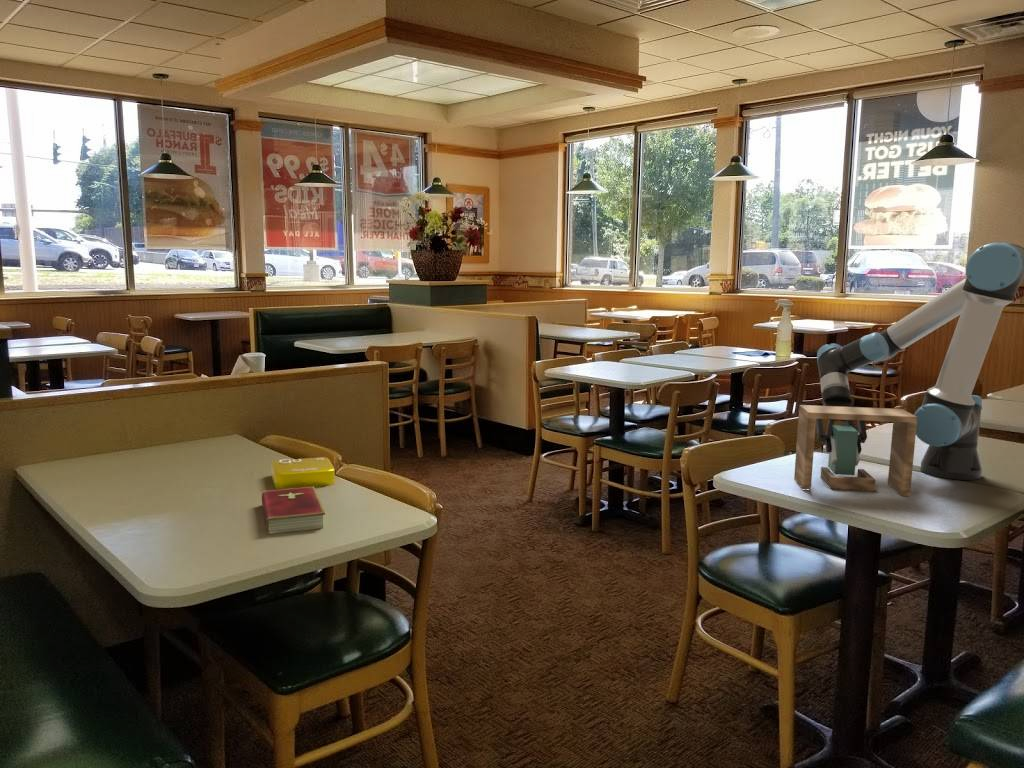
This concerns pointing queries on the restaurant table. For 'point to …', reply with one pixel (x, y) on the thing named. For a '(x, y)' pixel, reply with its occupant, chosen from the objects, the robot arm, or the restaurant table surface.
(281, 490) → the hardcover book
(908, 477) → the wooden arch
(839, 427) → the green rectangular block
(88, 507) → the restaurant table surface
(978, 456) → the robot arm
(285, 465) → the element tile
